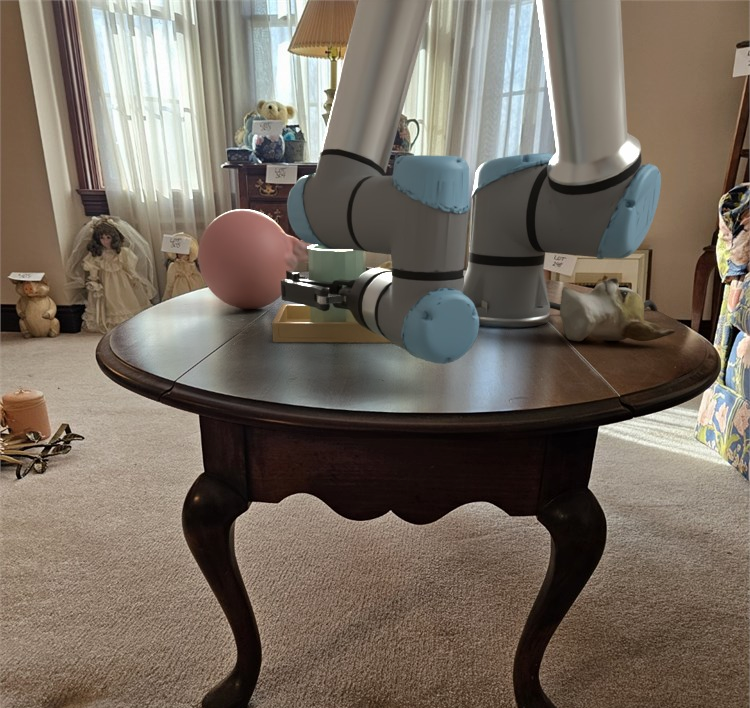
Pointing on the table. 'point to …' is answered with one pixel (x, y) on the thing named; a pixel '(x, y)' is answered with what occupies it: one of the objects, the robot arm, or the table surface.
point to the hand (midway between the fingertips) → (328, 278)
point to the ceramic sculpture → (607, 314)
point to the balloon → (248, 258)
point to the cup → (334, 276)
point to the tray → (317, 328)
